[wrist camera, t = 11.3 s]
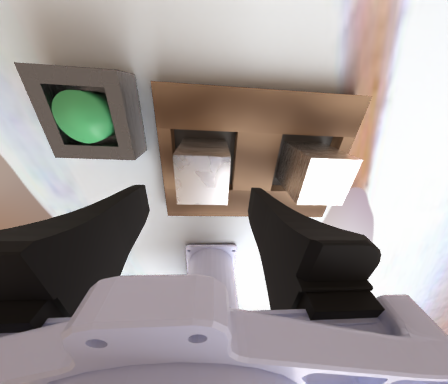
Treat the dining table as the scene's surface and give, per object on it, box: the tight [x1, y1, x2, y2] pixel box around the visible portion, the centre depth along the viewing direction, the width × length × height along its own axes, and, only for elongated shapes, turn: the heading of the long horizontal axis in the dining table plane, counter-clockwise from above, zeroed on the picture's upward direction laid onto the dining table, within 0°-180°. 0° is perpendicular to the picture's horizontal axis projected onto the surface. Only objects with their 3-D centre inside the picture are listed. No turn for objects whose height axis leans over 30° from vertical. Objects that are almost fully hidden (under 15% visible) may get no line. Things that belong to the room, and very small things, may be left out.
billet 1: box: [173, 138, 231, 205], centre depth 17 cm, size 4×4×6 cm
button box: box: [14, 62, 147, 160], centre depth 16 cm, size 7×7×4 cm
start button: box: [52, 90, 115, 143], centre depth 15 cm, size 4×4×3 cm
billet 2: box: [276, 141, 363, 205], centre depth 18 cm, size 4×4×6 cm
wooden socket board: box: [151, 81, 372, 217], centre depth 19 cm, size 14×20×2 cm
